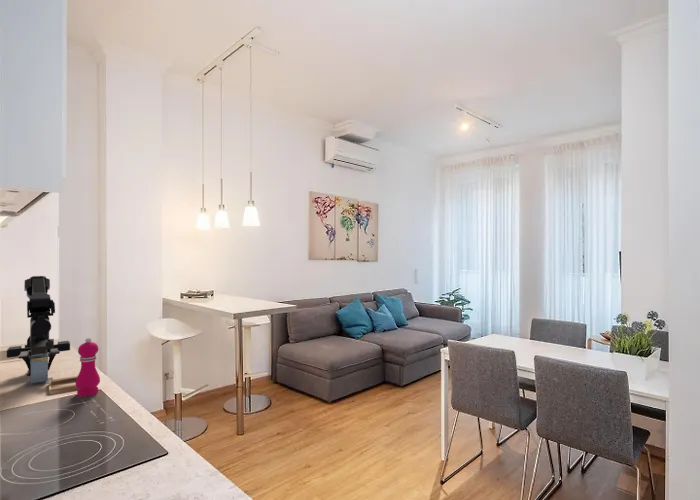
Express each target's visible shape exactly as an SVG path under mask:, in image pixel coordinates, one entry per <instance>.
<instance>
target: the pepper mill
mask: <svg viewBox="0 0 700 500" xmlns="http://www.w3.org/2000/svg"><path fill="white" fill-rule="evenodd" d="M77 349H78V350H77V352H78V355H79V356H80V357H79V362H80V364H81V365H80V371H79V372H78V375H77V376H78V377H77V379H76V387H77V388H78V389H79V390H76V395H77V397H81V398H82V397H90V396H94V395H96V394H98V393H99V387H98V386H99V384H100V383H101V377H100V375H99V372H98V371H97V368H96V360H97V359H98V358H97V357H98V355H97V354H98V352H99V346H98V344H97V343H96V342H93V341H92V338H90V337H87V338H86V339H85V342H83V343H82V344H80V345H79V347H78V348H77Z"/></svg>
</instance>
